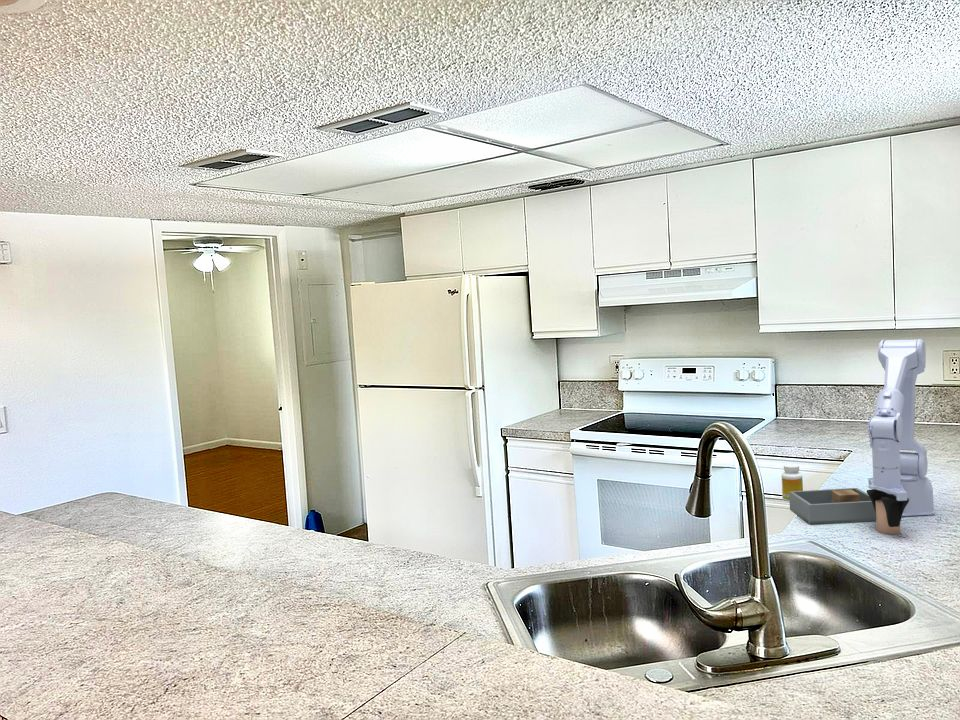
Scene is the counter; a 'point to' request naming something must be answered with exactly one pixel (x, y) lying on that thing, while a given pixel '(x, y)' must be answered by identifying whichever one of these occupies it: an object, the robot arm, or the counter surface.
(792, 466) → the supplement bottle
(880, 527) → the terracotta cylinder
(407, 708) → the counter surface
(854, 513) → the tote
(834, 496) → the walnut cube
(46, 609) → the counter surface
